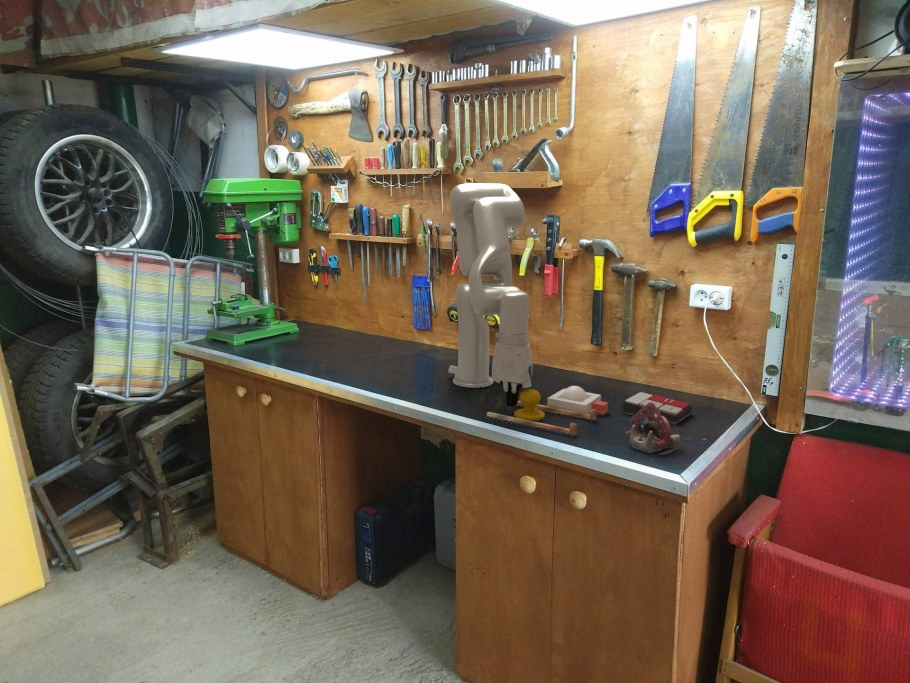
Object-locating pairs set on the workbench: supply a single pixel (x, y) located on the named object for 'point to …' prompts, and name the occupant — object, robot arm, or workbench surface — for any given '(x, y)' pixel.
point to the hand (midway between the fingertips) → (511, 405)
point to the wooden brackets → (547, 426)
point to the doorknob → (529, 406)
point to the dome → (574, 394)
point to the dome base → (578, 403)
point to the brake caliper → (650, 430)
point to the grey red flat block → (658, 406)
